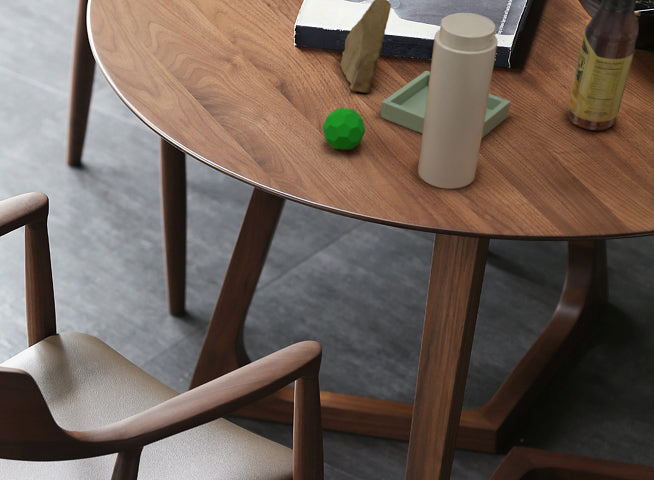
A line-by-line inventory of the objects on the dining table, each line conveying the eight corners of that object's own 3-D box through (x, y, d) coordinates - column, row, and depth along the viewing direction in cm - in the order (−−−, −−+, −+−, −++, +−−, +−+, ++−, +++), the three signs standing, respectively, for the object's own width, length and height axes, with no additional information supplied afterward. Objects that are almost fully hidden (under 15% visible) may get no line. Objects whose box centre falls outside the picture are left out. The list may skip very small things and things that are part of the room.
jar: (485, 170, 128) (511, 22, 116) (456, 195, 124) (479, 45, 112) (436, 151, 131) (457, 4, 118) (406, 175, 127) (424, 26, 114)
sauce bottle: (575, 103, 140) (610, -48, 127) (622, 117, 138) (662, -36, 125) (557, 125, 136) (591, -29, 123) (605, 139, 134) (645, -16, 120)
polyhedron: (354, 161, 129) (357, 126, 126) (316, 151, 130) (318, 116, 127) (368, 141, 132) (371, 106, 129) (331, 132, 134) (333, 97, 131)
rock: (385, 87, 137) (419, 47, 143) (349, 30, 134) (385, -9, 139) (326, 111, 146) (360, 72, 151) (291, 58, 142) (327, 19, 147)
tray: (508, 116, 138) (511, 101, 136) (466, 151, 131) (468, 135, 130) (424, 85, 143) (426, 70, 141) (380, 117, 137) (381, 101, 135)
